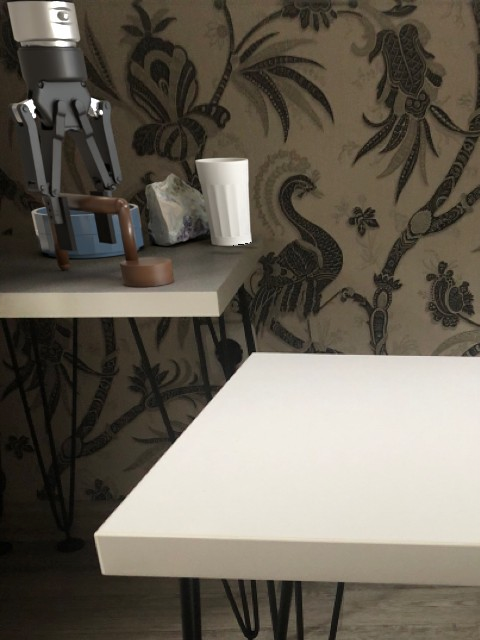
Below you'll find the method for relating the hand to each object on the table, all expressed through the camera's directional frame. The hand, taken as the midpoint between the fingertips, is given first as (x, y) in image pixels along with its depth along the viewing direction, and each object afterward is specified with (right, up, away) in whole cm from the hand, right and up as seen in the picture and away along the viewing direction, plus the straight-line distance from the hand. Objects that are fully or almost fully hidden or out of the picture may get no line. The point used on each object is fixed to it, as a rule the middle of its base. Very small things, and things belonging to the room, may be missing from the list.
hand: (88, 245), depth 123 cm
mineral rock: (+6, +11, +26) cm, 29 cm away
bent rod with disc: (+3, -4, 0) cm, 5 cm away
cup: (+14, +10, +24) cm, 29 cm away
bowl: (-7, +6, +19) cm, 21 cm away
